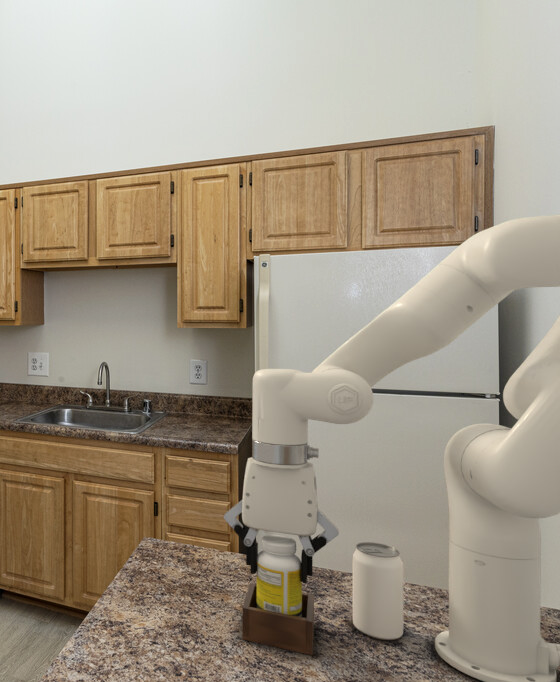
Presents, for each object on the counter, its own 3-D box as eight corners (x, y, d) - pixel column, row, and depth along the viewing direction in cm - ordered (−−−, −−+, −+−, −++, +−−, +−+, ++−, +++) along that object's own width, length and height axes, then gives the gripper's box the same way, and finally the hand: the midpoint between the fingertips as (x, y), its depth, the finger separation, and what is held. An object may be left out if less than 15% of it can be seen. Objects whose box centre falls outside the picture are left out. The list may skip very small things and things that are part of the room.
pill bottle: (293, 605, 85) (293, 533, 85) (308, 626, 79) (308, 548, 79) (251, 603, 86) (251, 531, 86) (262, 624, 80) (263, 547, 79)
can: (411, 643, 79) (411, 559, 79) (361, 639, 80) (361, 555, 80) (392, 620, 85) (392, 542, 85) (346, 616, 87) (346, 539, 87)
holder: (313, 624, 84) (313, 594, 84) (312, 655, 76) (312, 621, 76) (250, 611, 88) (250, 582, 88) (242, 639, 80) (242, 607, 80)
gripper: (345, 453, 82) (344, 576, 82) (222, 443, 89) (222, 555, 89) (347, 464, 75) (346, 598, 75) (214, 452, 83) (213, 573, 83)
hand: (278, 573), depth 82 cm, fingers closed on pill bottle, 6 cm apart
